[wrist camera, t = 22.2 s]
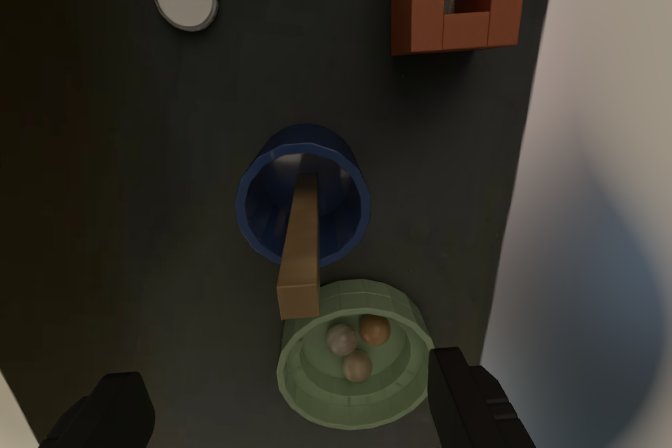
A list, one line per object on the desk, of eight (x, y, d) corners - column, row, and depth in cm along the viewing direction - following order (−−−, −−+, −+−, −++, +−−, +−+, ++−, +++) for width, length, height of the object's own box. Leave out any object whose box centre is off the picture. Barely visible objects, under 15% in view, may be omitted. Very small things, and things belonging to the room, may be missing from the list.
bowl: (425, 269, 33) (442, 301, 29) (420, 381, 39) (434, 423, 34) (273, 281, 33) (266, 316, 28) (290, 392, 39) (287, 436, 34)
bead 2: (349, 345, 37) (374, 345, 35) (354, 375, 37) (380, 376, 35) (333, 355, 34) (360, 356, 33) (339, 387, 34) (366, 389, 33)
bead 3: (402, 330, 33) (386, 335, 31) (382, 349, 34) (365, 356, 32) (383, 304, 34) (366, 308, 32) (364, 323, 36) (346, 328, 33)
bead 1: (349, 313, 35) (368, 335, 33) (337, 336, 36) (356, 359, 34) (326, 318, 33) (345, 342, 31) (315, 343, 34) (333, 367, 32)
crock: (355, 119, 27) (368, 138, 20) (359, 217, 31) (372, 263, 23) (248, 127, 27) (223, 149, 20) (264, 224, 31) (247, 273, 23)
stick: (317, 172, 28) (317, 283, 14) (318, 191, 29) (320, 317, 14) (297, 174, 28) (275, 287, 14) (299, 193, 29) (280, 320, 14)
